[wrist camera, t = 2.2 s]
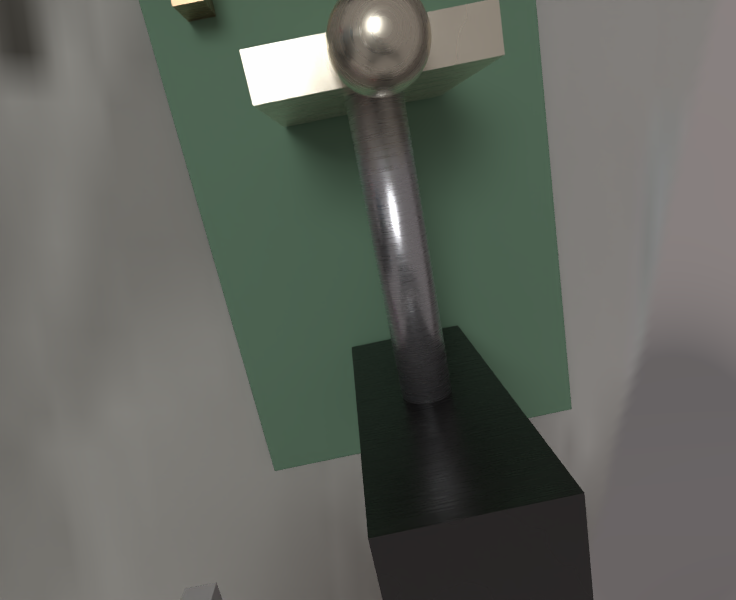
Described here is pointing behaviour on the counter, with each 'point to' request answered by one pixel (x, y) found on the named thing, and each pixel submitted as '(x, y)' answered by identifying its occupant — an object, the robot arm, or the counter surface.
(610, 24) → the counter surface
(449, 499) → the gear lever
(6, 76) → the counter surface
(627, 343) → the counter surface
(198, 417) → the counter surface
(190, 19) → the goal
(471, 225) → the mat
